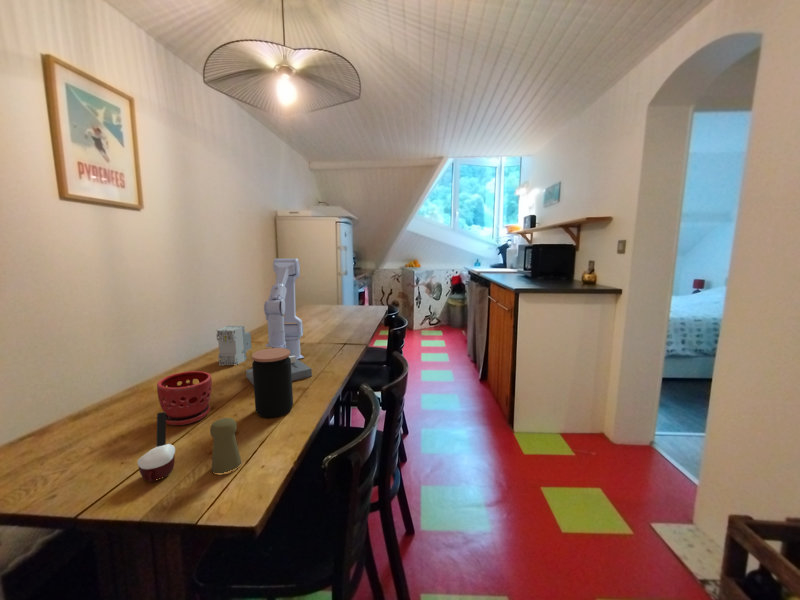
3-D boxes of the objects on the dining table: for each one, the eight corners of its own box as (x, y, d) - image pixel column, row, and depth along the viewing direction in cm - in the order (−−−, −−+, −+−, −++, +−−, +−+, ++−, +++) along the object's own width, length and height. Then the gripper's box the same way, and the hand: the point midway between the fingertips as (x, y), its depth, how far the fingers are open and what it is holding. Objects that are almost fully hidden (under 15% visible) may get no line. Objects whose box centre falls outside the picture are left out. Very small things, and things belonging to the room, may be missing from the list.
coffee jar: (300, 405, 105) (297, 349, 102) (277, 422, 95) (273, 360, 92) (272, 400, 108) (268, 346, 105) (247, 415, 98) (242, 356, 95)
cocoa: (156, 491, 68) (149, 438, 66) (128, 488, 69) (120, 436, 66) (189, 460, 78) (184, 413, 75) (164, 458, 78) (158, 411, 76)
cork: (218, 458, 78) (214, 414, 76) (245, 457, 79) (242, 413, 77) (206, 476, 72) (201, 428, 71) (235, 474, 73) (231, 427, 71)
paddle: (286, 362, 133) (286, 357, 133) (294, 361, 135) (294, 355, 135) (287, 363, 132) (287, 358, 132) (295, 362, 134) (295, 356, 134)
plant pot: (157, 434, 88) (152, 391, 87) (165, 413, 100) (160, 374, 98) (214, 422, 94) (210, 382, 93) (215, 403, 106) (211, 367, 104)
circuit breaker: (254, 355, 154) (251, 323, 151) (235, 365, 140) (233, 330, 137) (238, 354, 154) (236, 322, 152) (219, 365, 140) (215, 330, 138)
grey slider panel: (246, 377, 127) (246, 369, 127) (298, 366, 139) (297, 358, 139) (257, 389, 116) (256, 381, 116) (311, 376, 128) (311, 368, 128)
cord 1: (250, 370, 135) (250, 366, 135) (254, 369, 136) (254, 365, 136) (255, 375, 129) (254, 371, 129) (259, 374, 130) (259, 370, 130)
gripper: (259, 329, 129) (261, 363, 131) (271, 337, 117) (273, 374, 119) (278, 326, 133) (280, 359, 135) (291, 334, 122) (293, 370, 124)
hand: (278, 366), depth 127 cm, fingers closed
